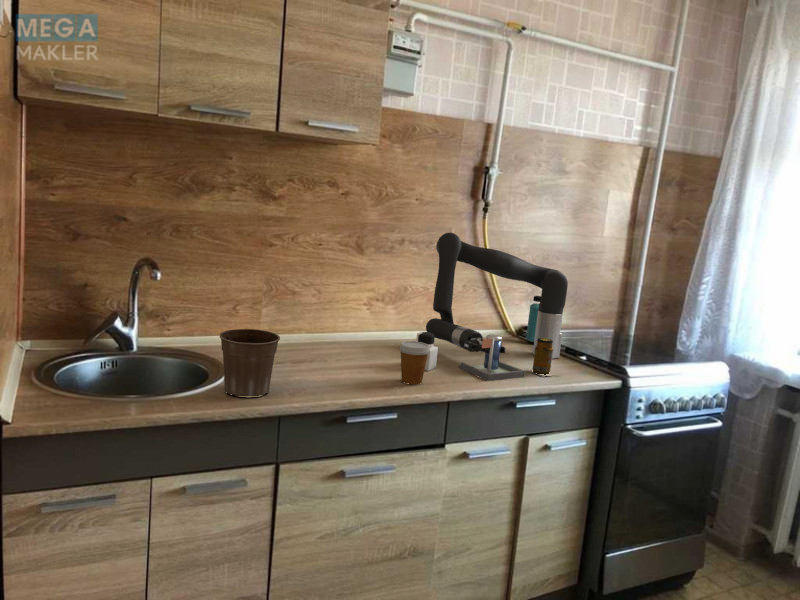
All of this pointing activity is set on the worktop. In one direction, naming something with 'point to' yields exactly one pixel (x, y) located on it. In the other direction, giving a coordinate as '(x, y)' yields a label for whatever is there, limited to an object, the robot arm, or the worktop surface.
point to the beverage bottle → (533, 319)
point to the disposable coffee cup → (413, 361)
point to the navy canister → (494, 352)
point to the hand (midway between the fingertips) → (498, 351)
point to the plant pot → (248, 360)
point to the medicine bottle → (432, 355)
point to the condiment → (542, 356)
